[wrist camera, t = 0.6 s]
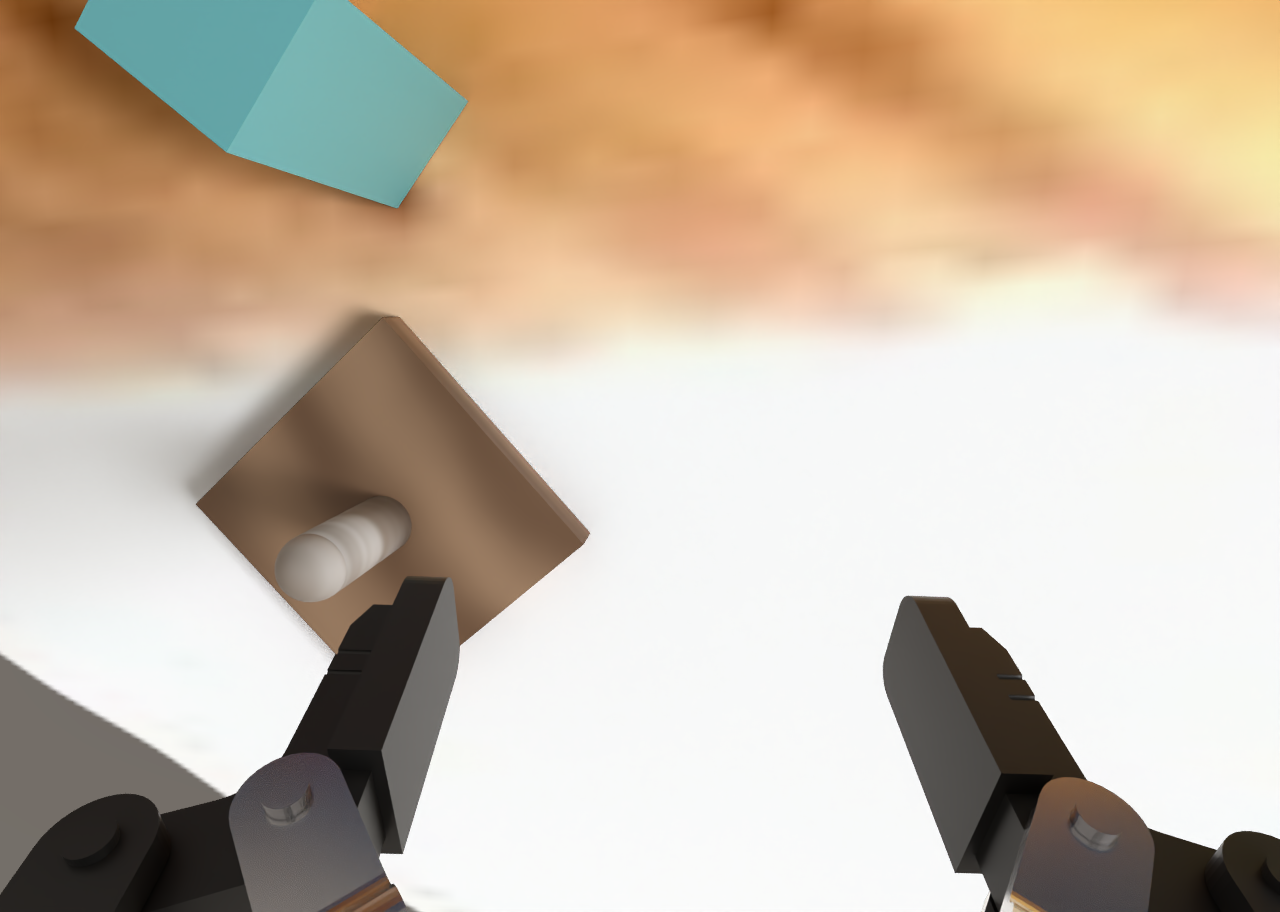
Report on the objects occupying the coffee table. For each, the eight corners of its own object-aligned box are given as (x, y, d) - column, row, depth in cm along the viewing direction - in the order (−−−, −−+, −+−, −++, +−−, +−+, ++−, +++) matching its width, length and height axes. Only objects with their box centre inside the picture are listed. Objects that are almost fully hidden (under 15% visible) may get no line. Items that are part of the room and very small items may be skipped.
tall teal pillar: (366, 16, 27) (164, -153, 17) (468, 101, 27) (325, -19, 17) (299, 127, 28) (74, 28, 18) (397, 208, 28) (226, 152, 19)
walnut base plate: (400, 317, 29) (283, 317, 21) (590, 533, 30) (544, 608, 22) (220, 495, 32) (58, 552, 24) (400, 689, 33) (300, 805, 25)
